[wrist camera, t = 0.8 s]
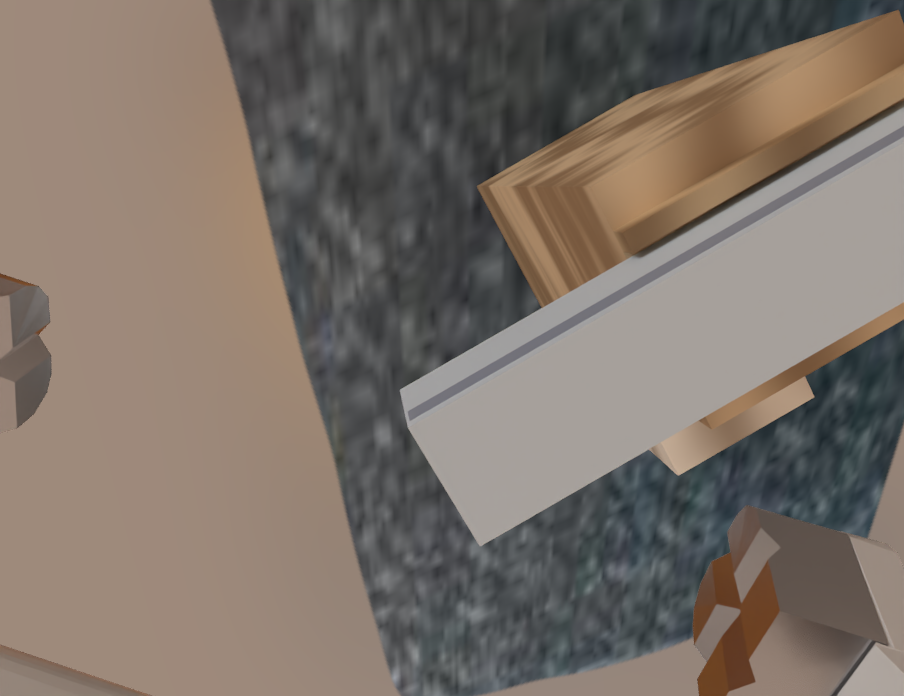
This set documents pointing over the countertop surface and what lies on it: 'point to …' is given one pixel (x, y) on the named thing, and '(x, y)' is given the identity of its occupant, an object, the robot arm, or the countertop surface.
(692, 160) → the tall wood grain block
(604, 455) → the foil carton
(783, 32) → the countertop surface
